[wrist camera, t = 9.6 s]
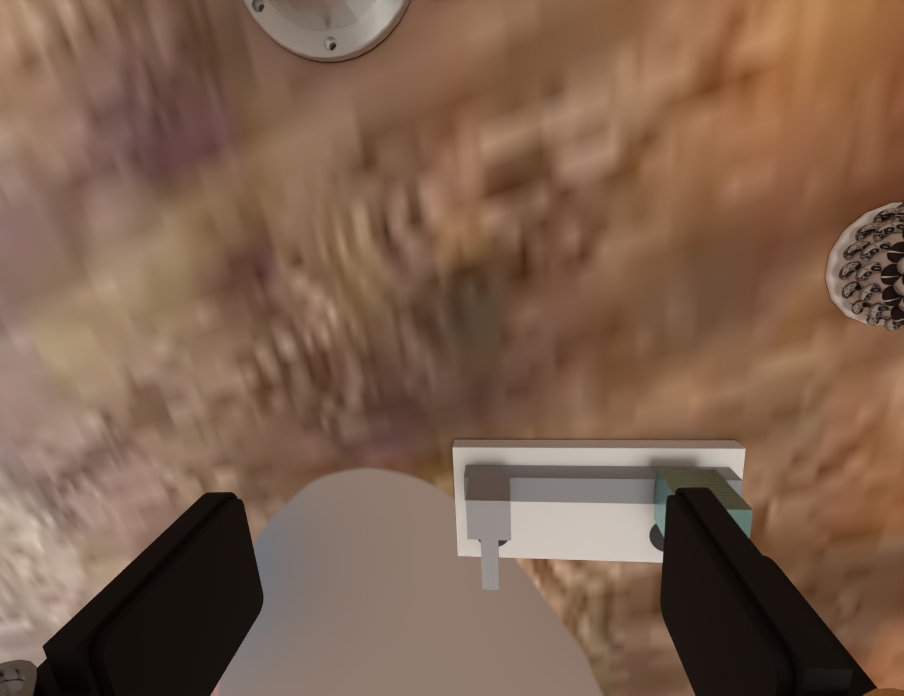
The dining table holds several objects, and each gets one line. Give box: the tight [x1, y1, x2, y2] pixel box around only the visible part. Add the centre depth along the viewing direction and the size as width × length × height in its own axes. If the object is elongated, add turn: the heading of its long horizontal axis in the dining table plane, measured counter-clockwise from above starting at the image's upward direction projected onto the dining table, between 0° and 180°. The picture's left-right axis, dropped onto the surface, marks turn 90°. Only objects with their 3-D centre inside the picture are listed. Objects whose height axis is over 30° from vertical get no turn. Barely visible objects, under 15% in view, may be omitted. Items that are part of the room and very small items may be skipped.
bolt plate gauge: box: [453, 440, 745, 590], centre depth 35 cm, size 10×22×8 cm, turn 93°
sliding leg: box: [654, 469, 753, 539], centre depth 32 cm, size 8×4×7 cm, turn 3°
